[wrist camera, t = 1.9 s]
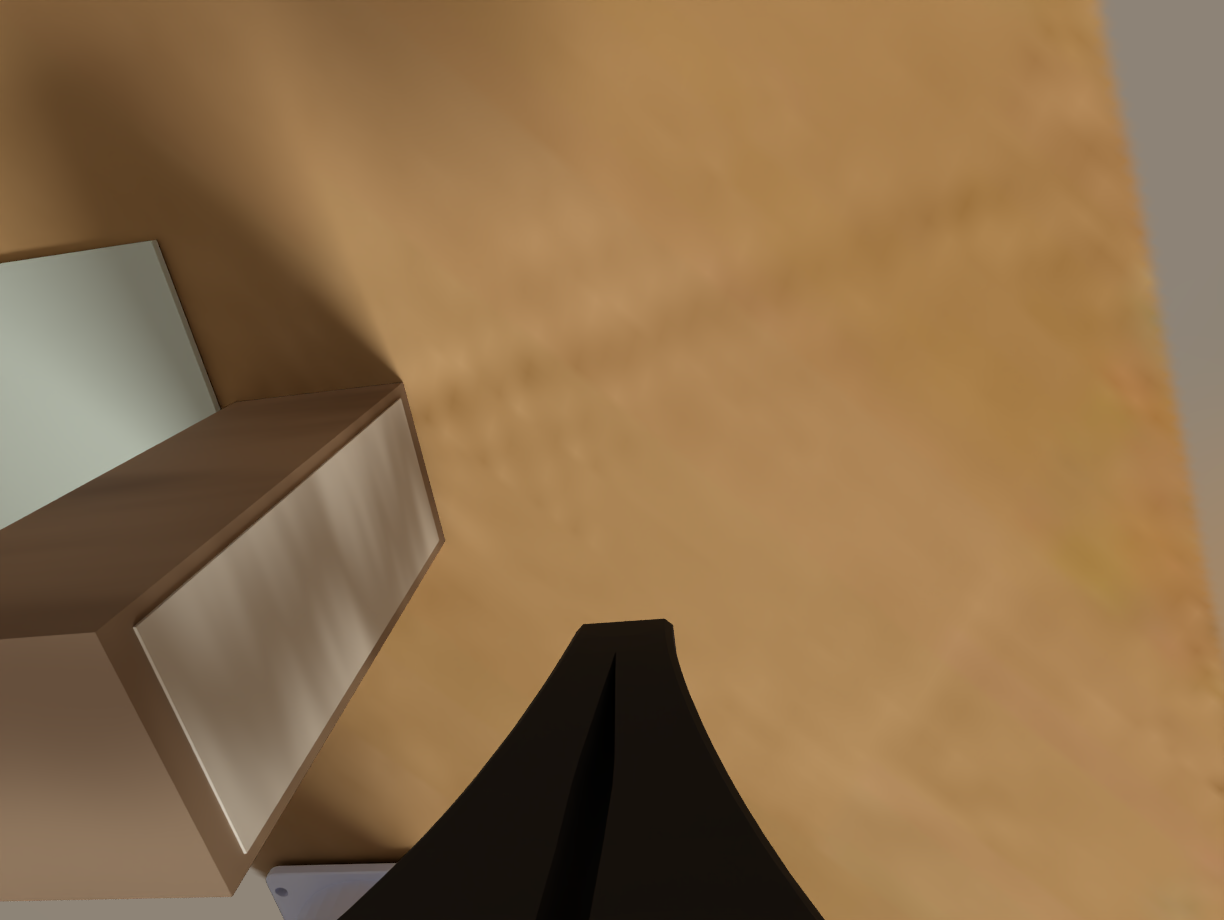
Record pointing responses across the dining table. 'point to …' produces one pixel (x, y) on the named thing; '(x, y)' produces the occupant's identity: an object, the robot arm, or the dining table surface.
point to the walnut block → (198, 639)
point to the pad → (90, 369)
